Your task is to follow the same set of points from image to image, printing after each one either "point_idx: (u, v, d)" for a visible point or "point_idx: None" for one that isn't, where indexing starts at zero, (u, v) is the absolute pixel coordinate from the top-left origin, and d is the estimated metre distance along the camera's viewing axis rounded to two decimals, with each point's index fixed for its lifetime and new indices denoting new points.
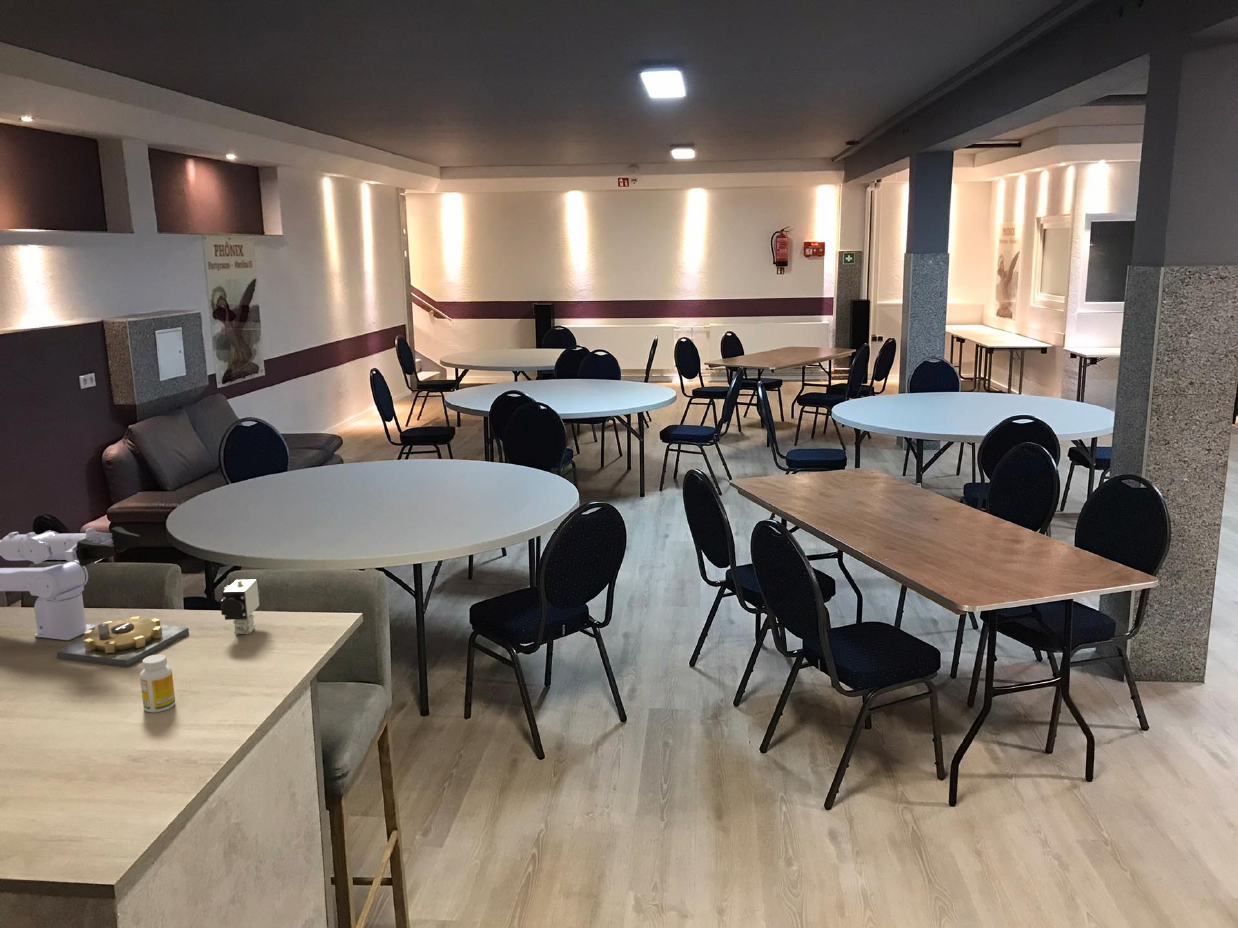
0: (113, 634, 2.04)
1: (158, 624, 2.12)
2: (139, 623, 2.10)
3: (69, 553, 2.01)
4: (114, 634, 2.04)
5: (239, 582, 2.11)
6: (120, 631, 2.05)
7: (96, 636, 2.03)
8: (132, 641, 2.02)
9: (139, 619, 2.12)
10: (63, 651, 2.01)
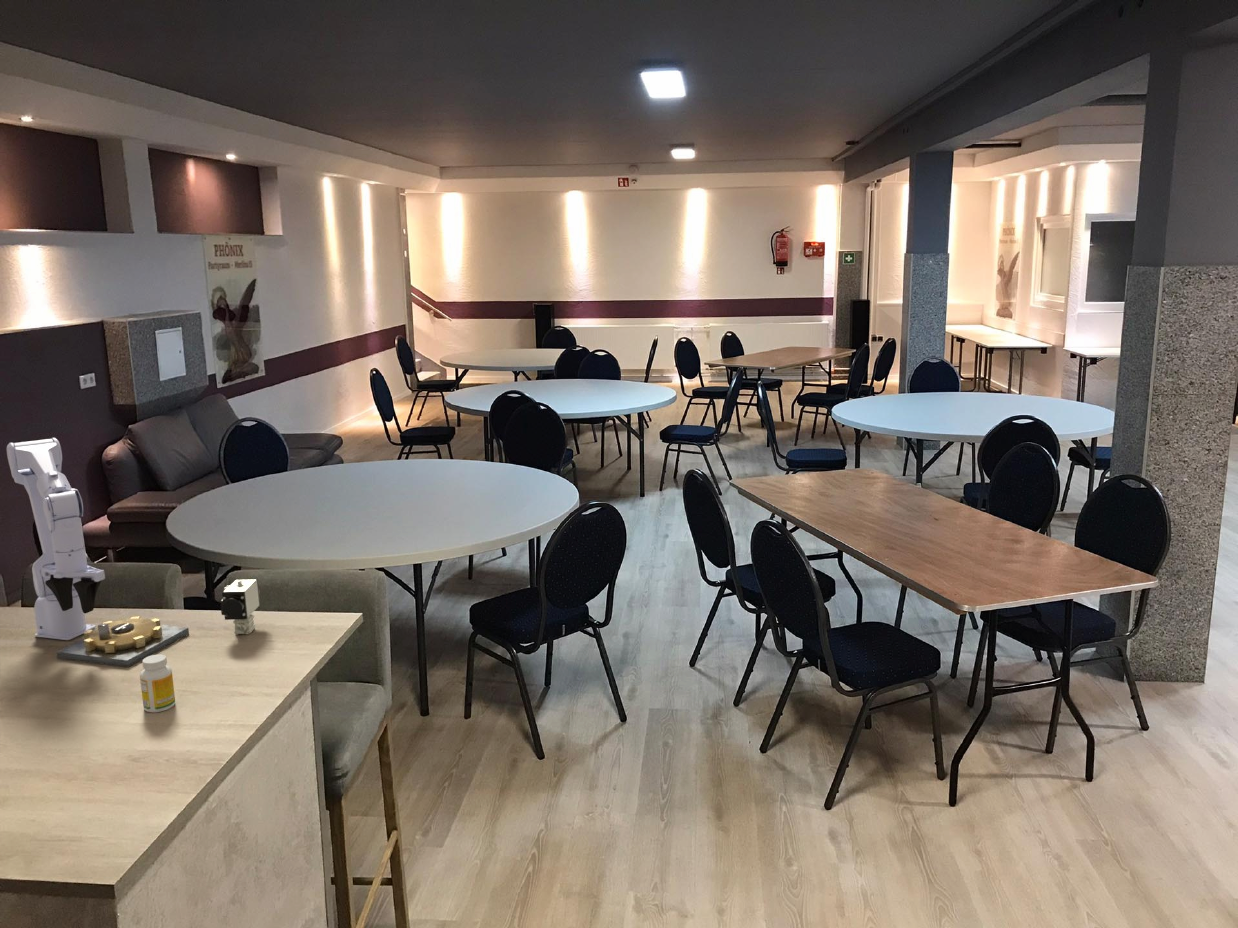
0: (113, 634, 2.04)
1: (158, 624, 2.12)
2: (139, 623, 2.10)
3: None
4: (114, 634, 2.04)
5: (239, 582, 2.11)
6: (120, 631, 2.05)
7: (96, 636, 2.03)
8: (132, 641, 2.02)
9: (139, 619, 2.12)
10: (63, 651, 2.01)
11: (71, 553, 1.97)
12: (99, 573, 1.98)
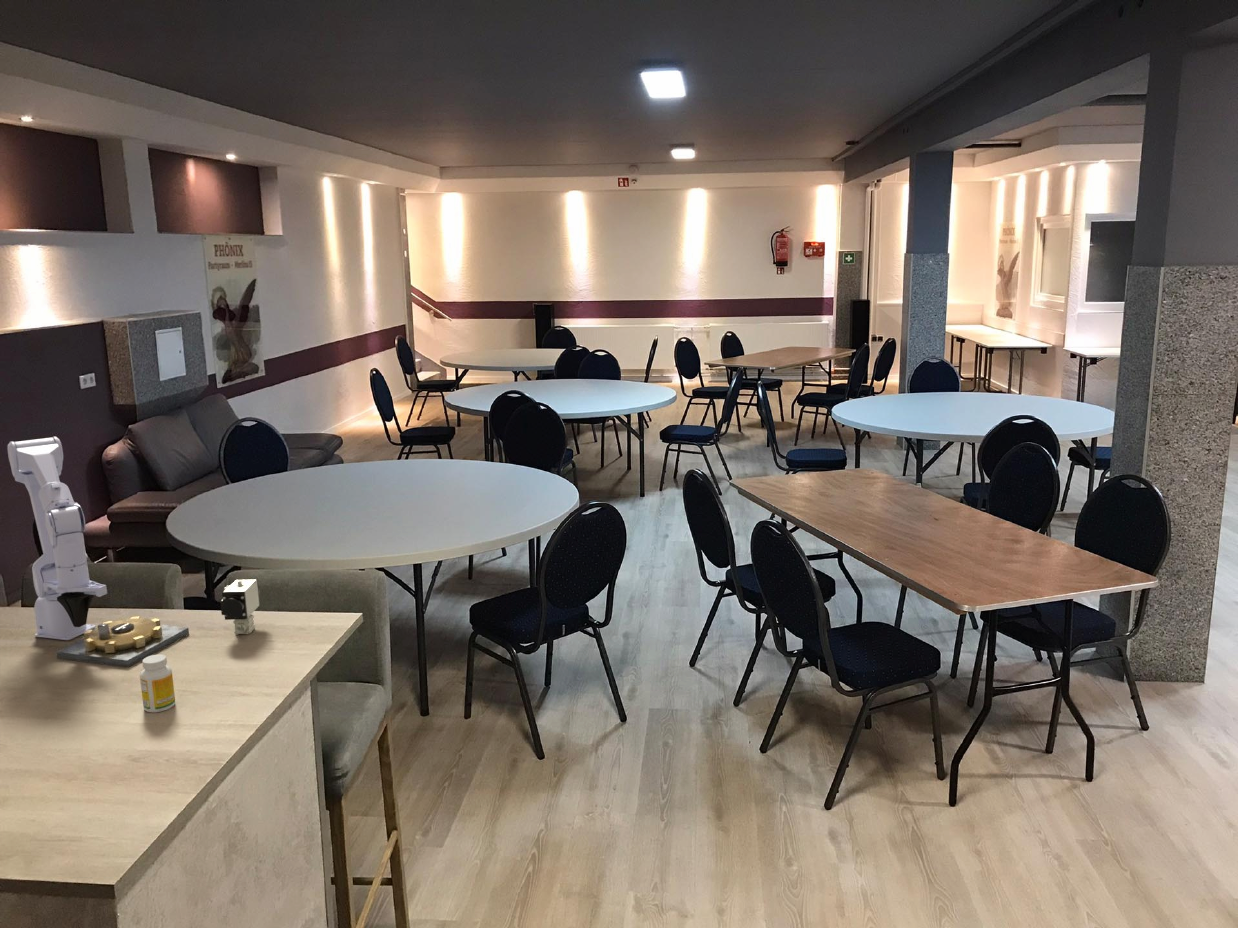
0: (113, 634, 2.04)
1: (158, 624, 2.12)
2: (139, 623, 2.10)
3: None
4: (114, 634, 2.04)
5: (239, 582, 2.11)
6: (120, 631, 2.05)
7: (96, 636, 2.03)
8: (132, 641, 2.02)
9: (139, 619, 2.12)
10: (63, 651, 2.01)
11: (73, 568, 1.98)
12: (101, 588, 1.99)
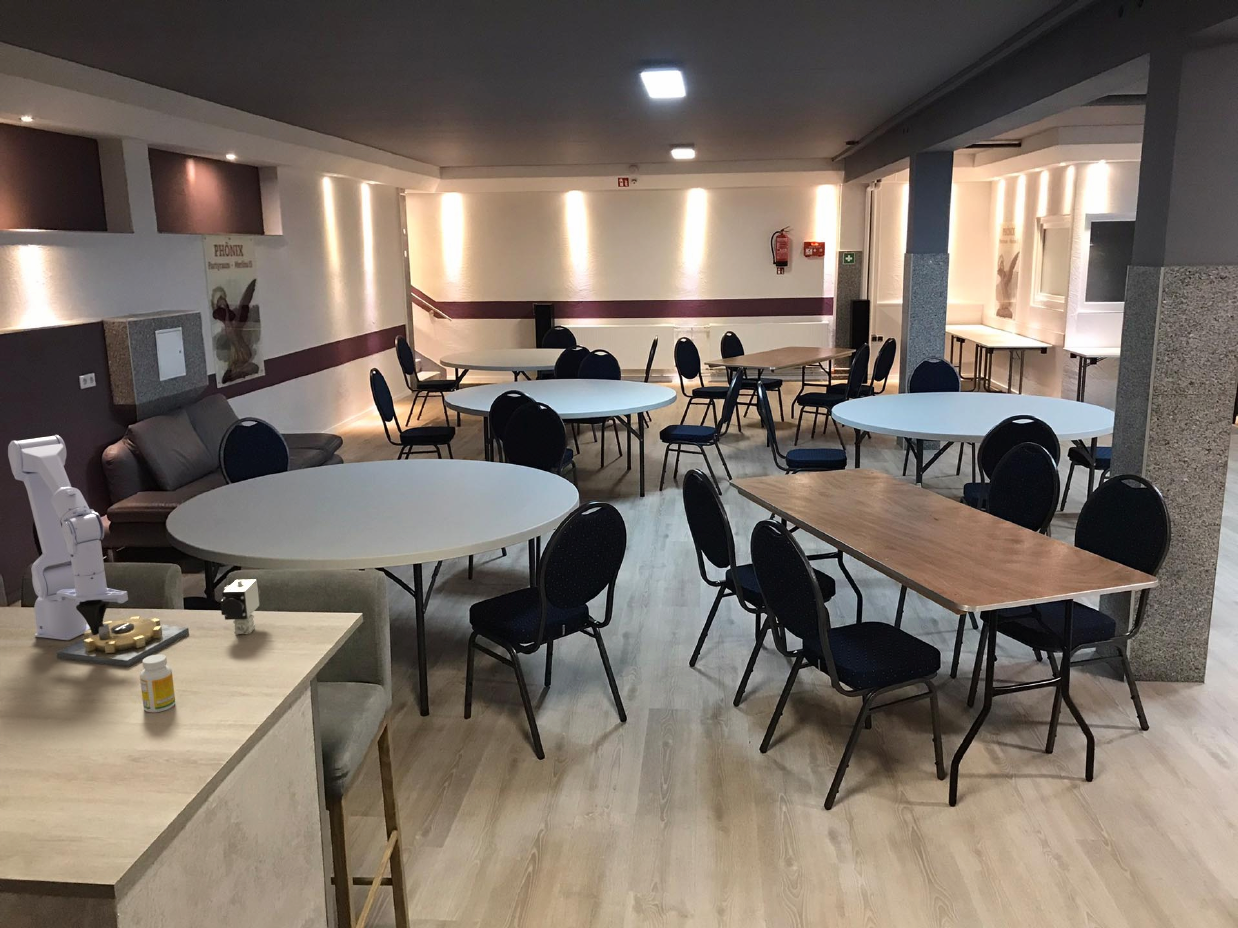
0: (113, 634, 2.04)
1: (158, 624, 2.12)
2: (139, 623, 2.10)
3: None
4: (114, 634, 2.04)
5: (239, 582, 2.11)
6: (120, 631, 2.05)
7: (96, 636, 2.03)
8: (132, 641, 2.02)
9: (139, 619, 2.12)
10: (63, 651, 2.01)
11: (93, 576, 1.97)
12: (123, 594, 1.99)
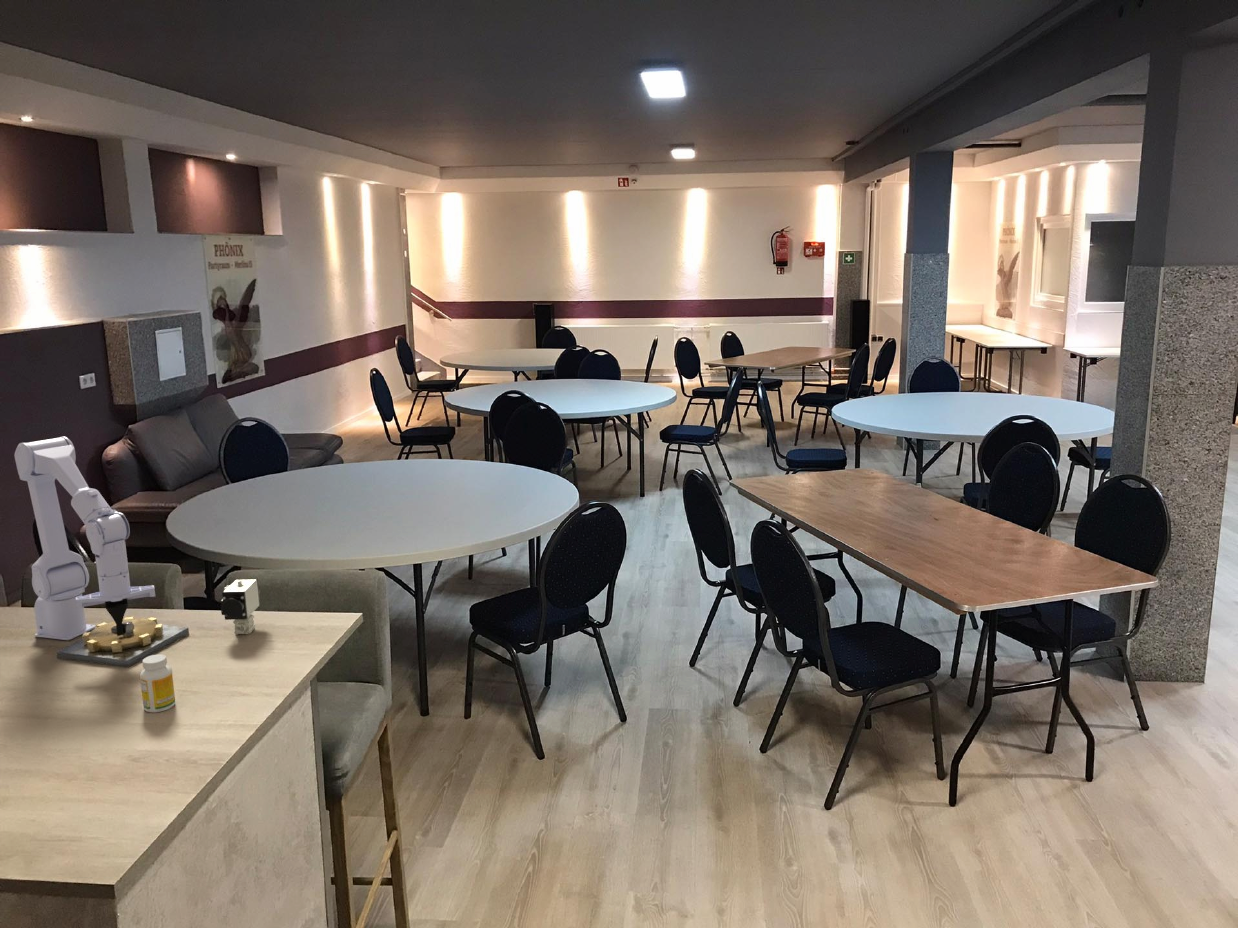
0: None
1: None
2: None
3: (76, 605, 1.96)
4: None
5: (239, 582, 2.11)
6: None
7: (115, 639, 2.02)
8: (155, 630, 2.08)
9: (111, 623, 2.10)
10: (63, 651, 2.01)
11: (125, 574, 1.99)
12: None
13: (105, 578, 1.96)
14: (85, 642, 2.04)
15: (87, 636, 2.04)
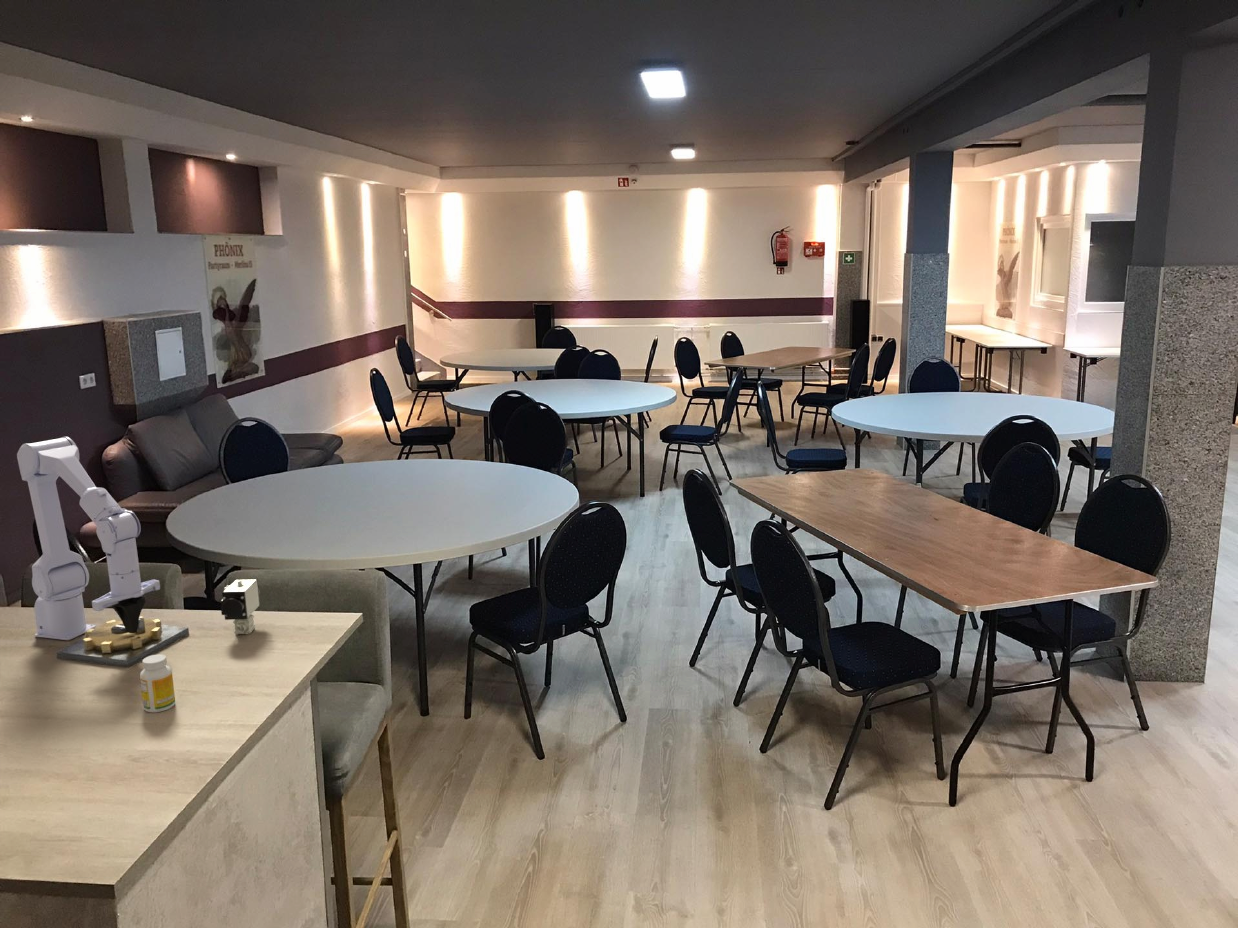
0: None
1: None
2: (112, 626, 2.09)
3: (97, 608, 1.94)
4: None
5: (239, 582, 2.11)
6: None
7: (129, 636, 2.03)
8: (156, 625, 2.11)
9: (99, 627, 2.08)
10: (63, 651, 2.01)
11: None
12: None
13: (125, 575, 1.98)
14: (89, 647, 2.01)
15: (91, 641, 2.01)
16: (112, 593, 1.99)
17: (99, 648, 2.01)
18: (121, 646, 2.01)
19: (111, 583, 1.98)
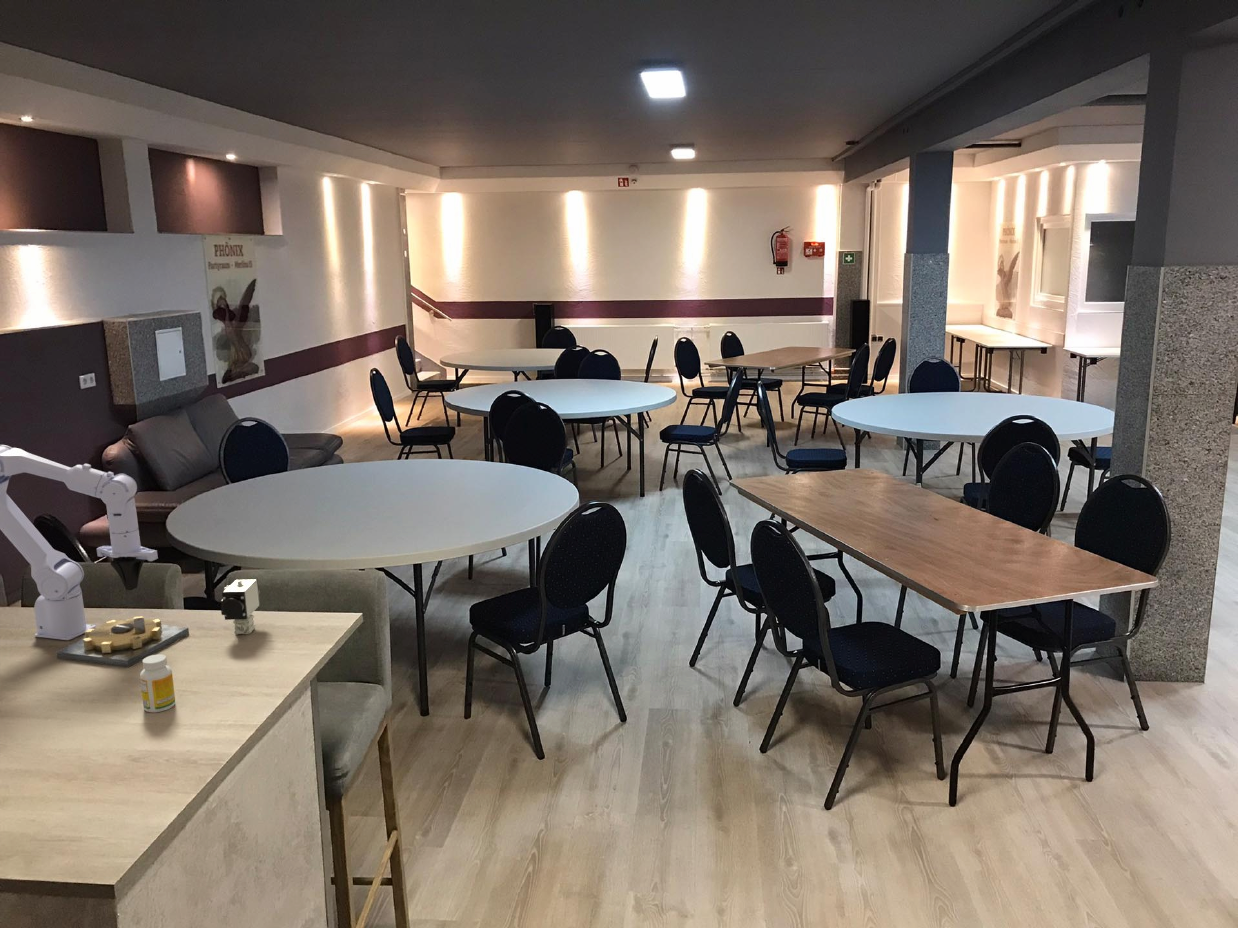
0: (133, 631, 2.06)
1: None
2: (112, 626, 2.09)
3: None
4: (132, 630, 2.06)
5: (239, 582, 2.11)
6: (133, 627, 2.07)
7: (129, 636, 2.03)
8: (155, 625, 2.11)
9: (99, 627, 2.08)
10: (63, 651, 2.01)
11: (126, 534, 2.10)
12: (152, 553, 2.11)
13: (110, 534, 2.10)
14: (89, 647, 2.01)
15: (91, 641, 2.01)
16: None
17: (99, 648, 2.01)
18: (121, 646, 2.01)
19: None
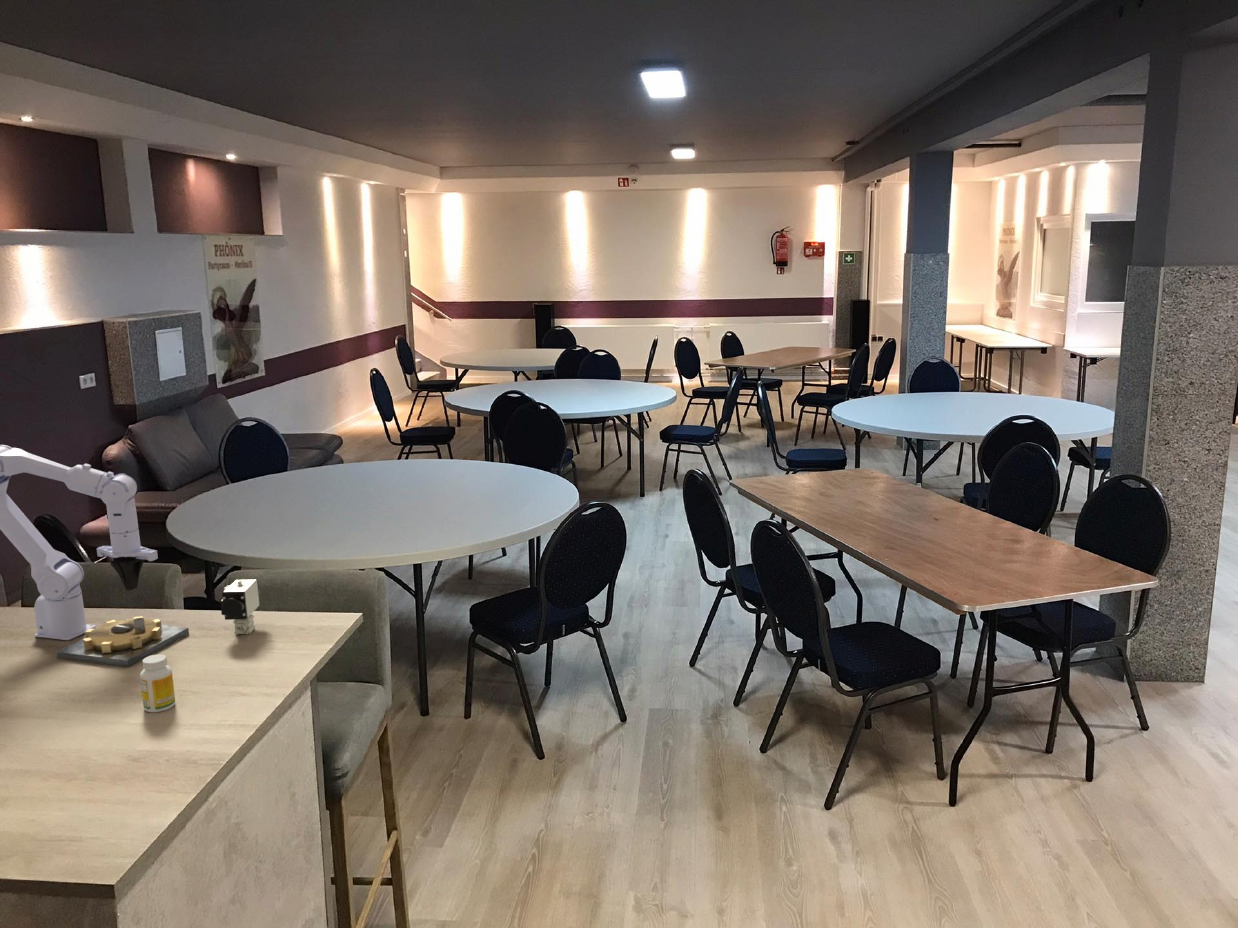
0: (133, 631, 2.06)
1: None
2: (112, 626, 2.09)
3: None
4: (132, 630, 2.06)
5: (239, 582, 2.11)
6: (133, 627, 2.07)
7: (129, 636, 2.03)
8: (155, 625, 2.11)
9: (99, 627, 2.08)
10: (63, 651, 2.01)
11: (126, 534, 2.10)
12: (152, 553, 2.11)
13: (110, 534, 2.10)
14: (89, 647, 2.01)
15: (91, 641, 2.01)
16: None
17: (99, 648, 2.01)
18: (121, 646, 2.01)
19: None
